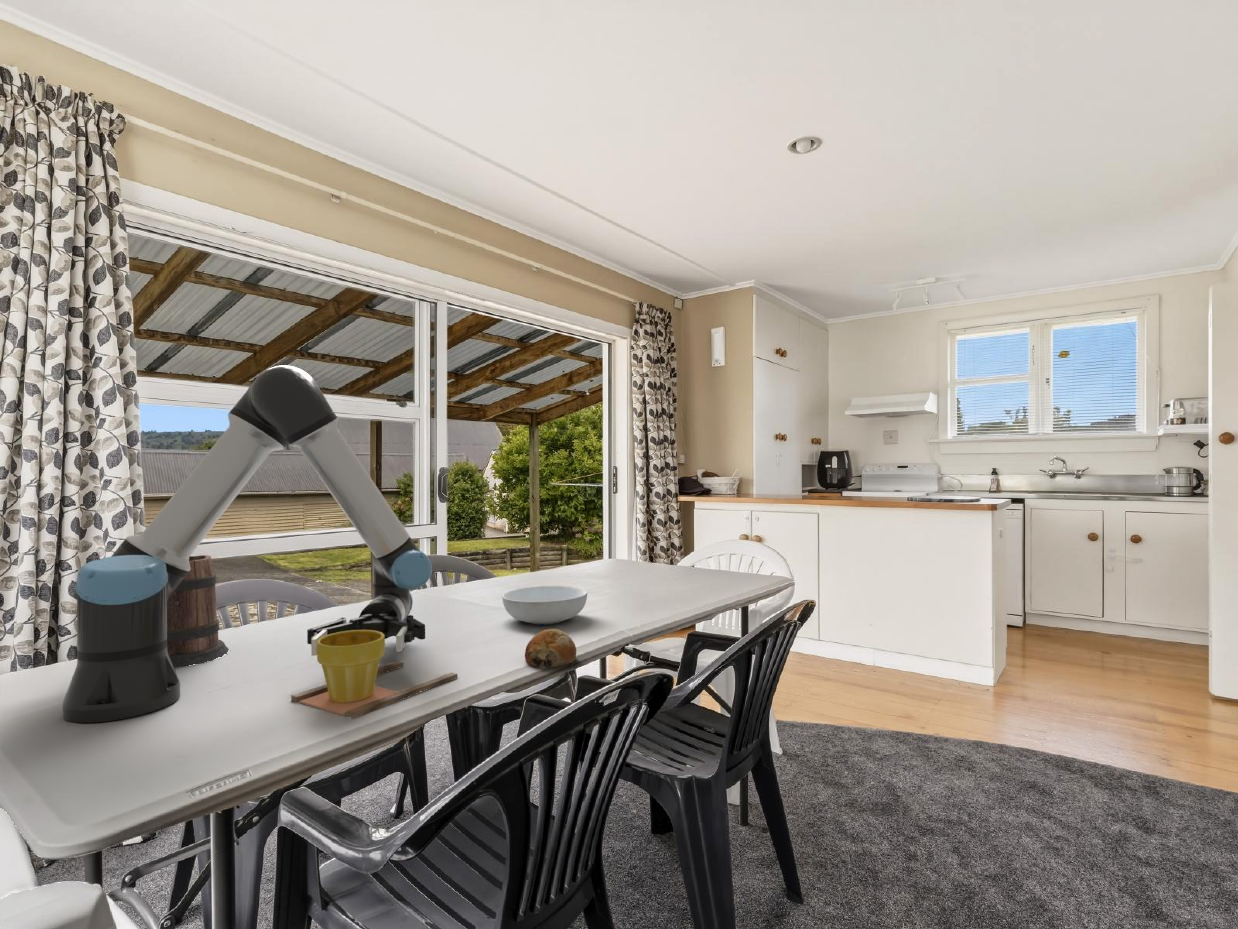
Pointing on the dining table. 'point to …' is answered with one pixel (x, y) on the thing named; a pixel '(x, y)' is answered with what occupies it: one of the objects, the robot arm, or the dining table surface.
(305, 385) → the robot arm
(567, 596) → the serving bowl
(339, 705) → the terracotta mat
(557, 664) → the bread roll
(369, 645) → the plant pot
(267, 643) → the dining table surface
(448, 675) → the walnut track
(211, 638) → the tankard
